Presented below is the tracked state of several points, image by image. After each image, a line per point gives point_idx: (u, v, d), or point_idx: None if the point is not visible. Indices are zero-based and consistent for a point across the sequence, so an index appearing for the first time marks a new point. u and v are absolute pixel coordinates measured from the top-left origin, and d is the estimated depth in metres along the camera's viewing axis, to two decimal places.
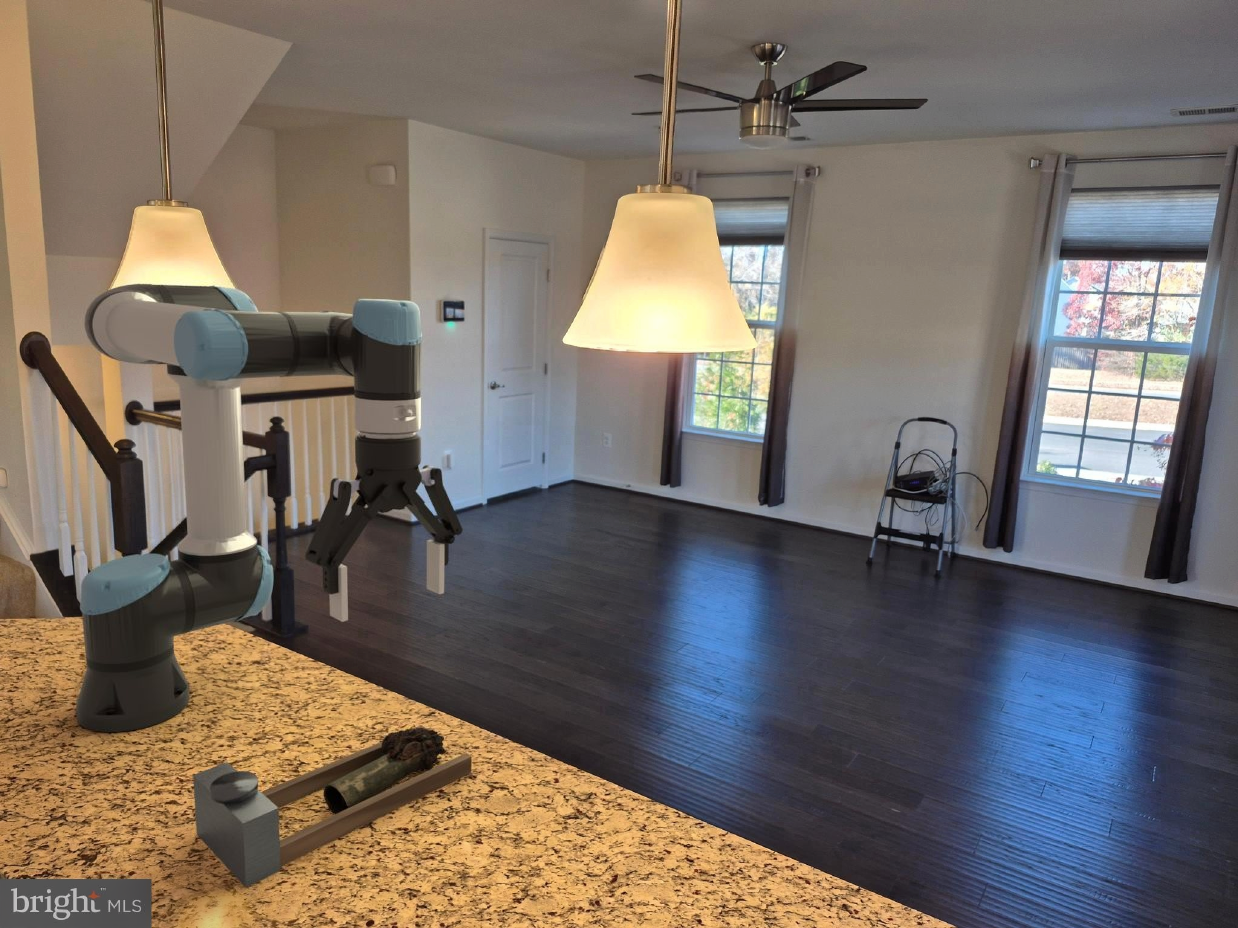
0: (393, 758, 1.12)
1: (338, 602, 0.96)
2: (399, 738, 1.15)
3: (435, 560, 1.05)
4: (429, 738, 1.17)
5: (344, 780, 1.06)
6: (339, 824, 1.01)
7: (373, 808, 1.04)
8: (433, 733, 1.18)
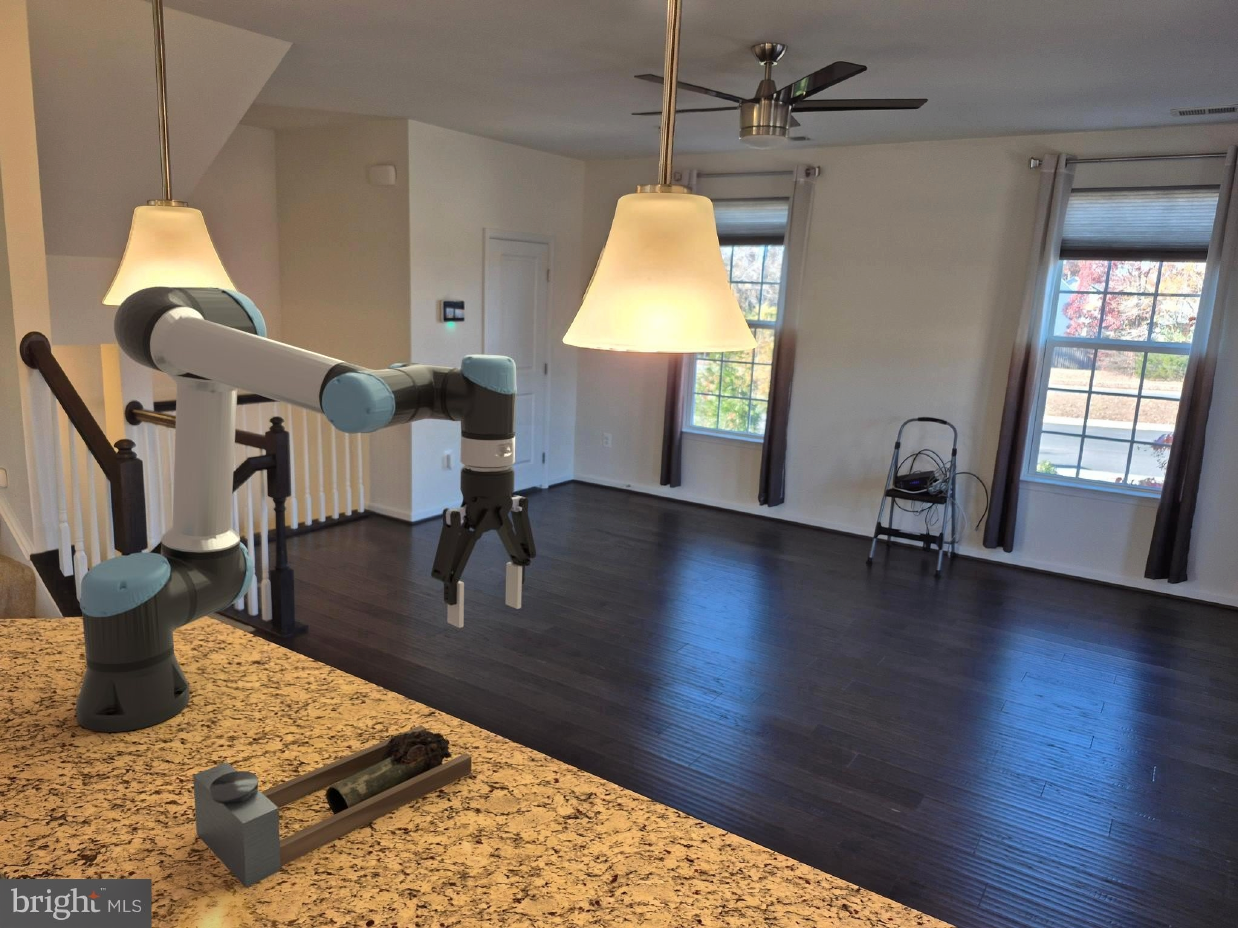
0: (397, 761, 1.12)
1: (456, 612, 1.16)
2: (403, 741, 1.14)
3: (514, 580, 1.24)
4: (434, 741, 1.16)
5: (346, 782, 1.06)
6: (339, 824, 1.01)
7: (373, 808, 1.04)
8: (439, 736, 1.18)
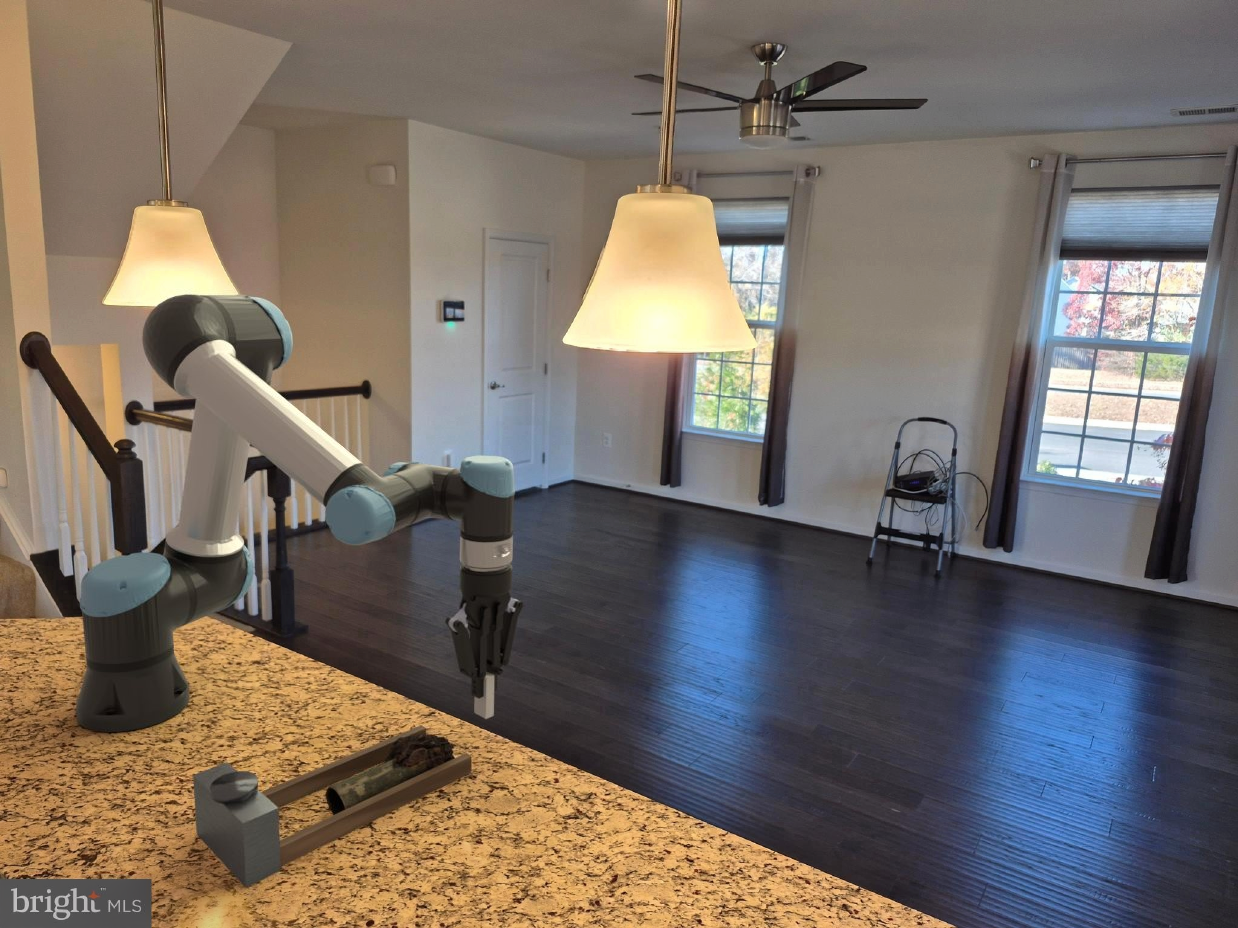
0: (399, 764, 1.11)
1: (483, 703, 1.23)
2: (407, 744, 1.13)
3: None
4: (438, 745, 1.15)
5: (345, 783, 1.05)
6: (339, 824, 1.01)
7: (373, 808, 1.04)
8: (443, 740, 1.17)
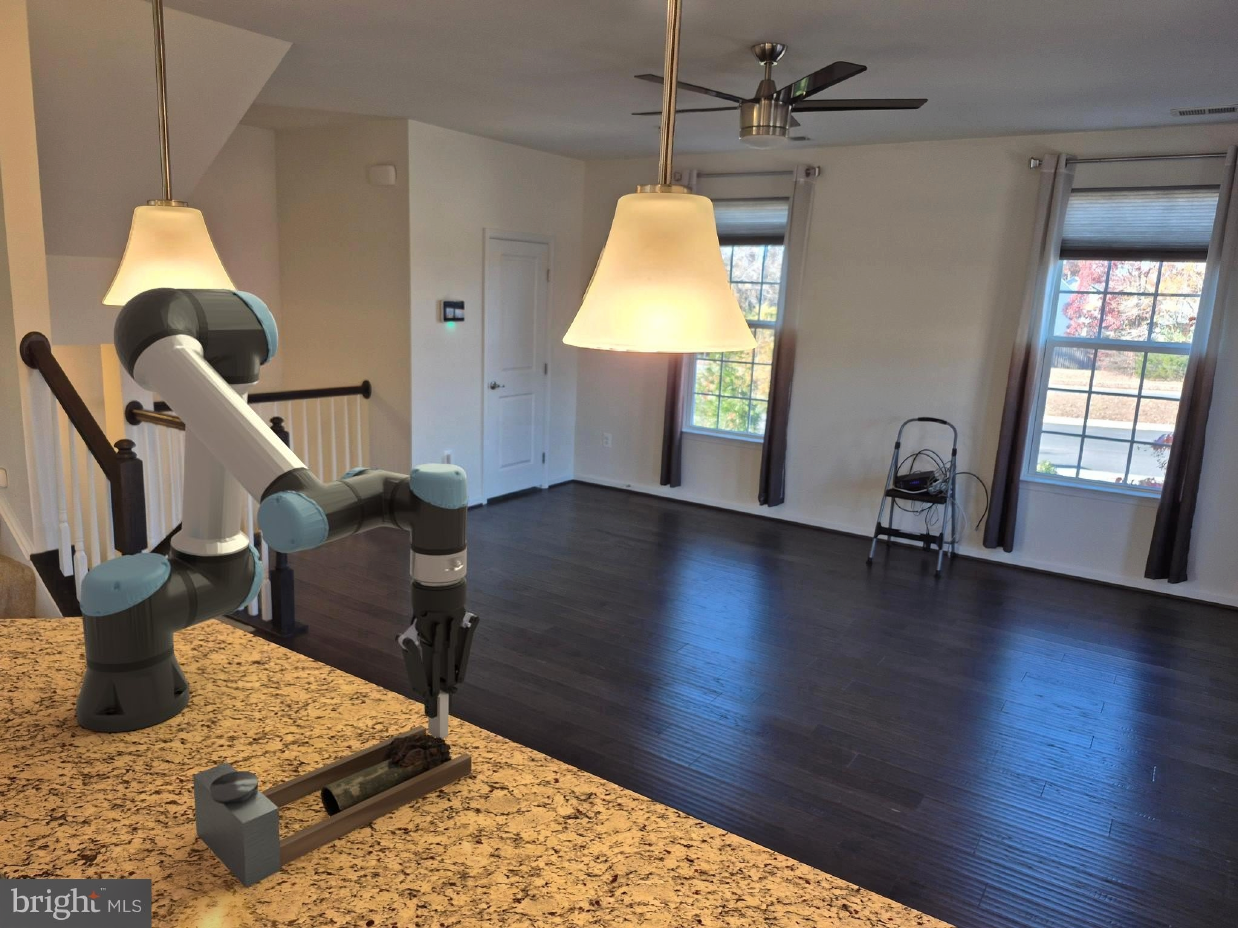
0: (395, 764, 1.11)
1: (436, 723, 1.17)
2: (403, 744, 1.13)
3: None
4: (435, 746, 1.15)
5: (340, 783, 1.05)
6: (339, 824, 1.01)
7: (373, 808, 1.04)
8: (440, 741, 1.16)
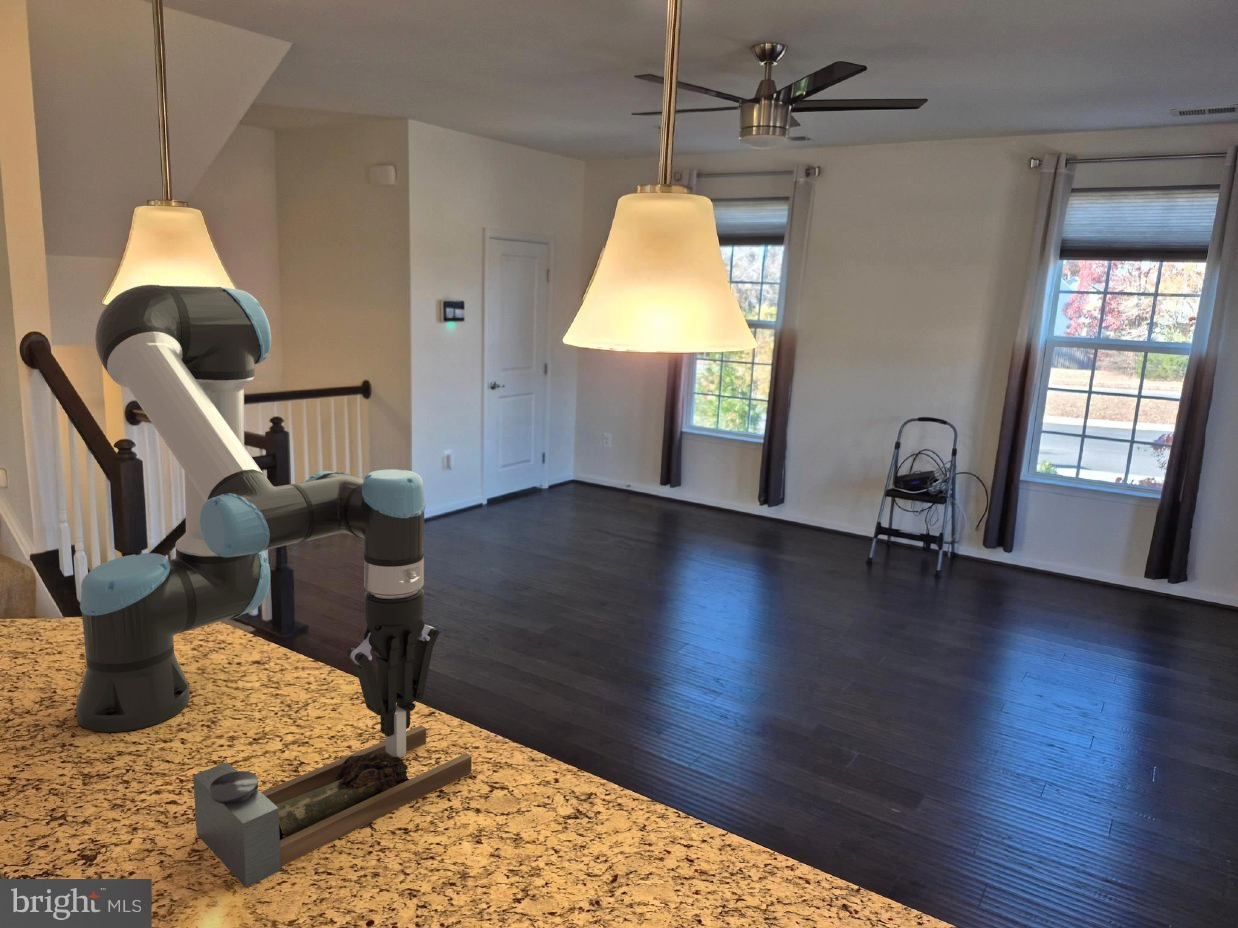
0: (346, 784, 1.06)
1: (393, 742, 1.12)
2: (357, 763, 1.08)
3: None
4: (391, 766, 1.09)
5: (285, 805, 1.00)
6: (339, 824, 1.01)
7: (373, 808, 1.04)
8: (397, 760, 1.11)
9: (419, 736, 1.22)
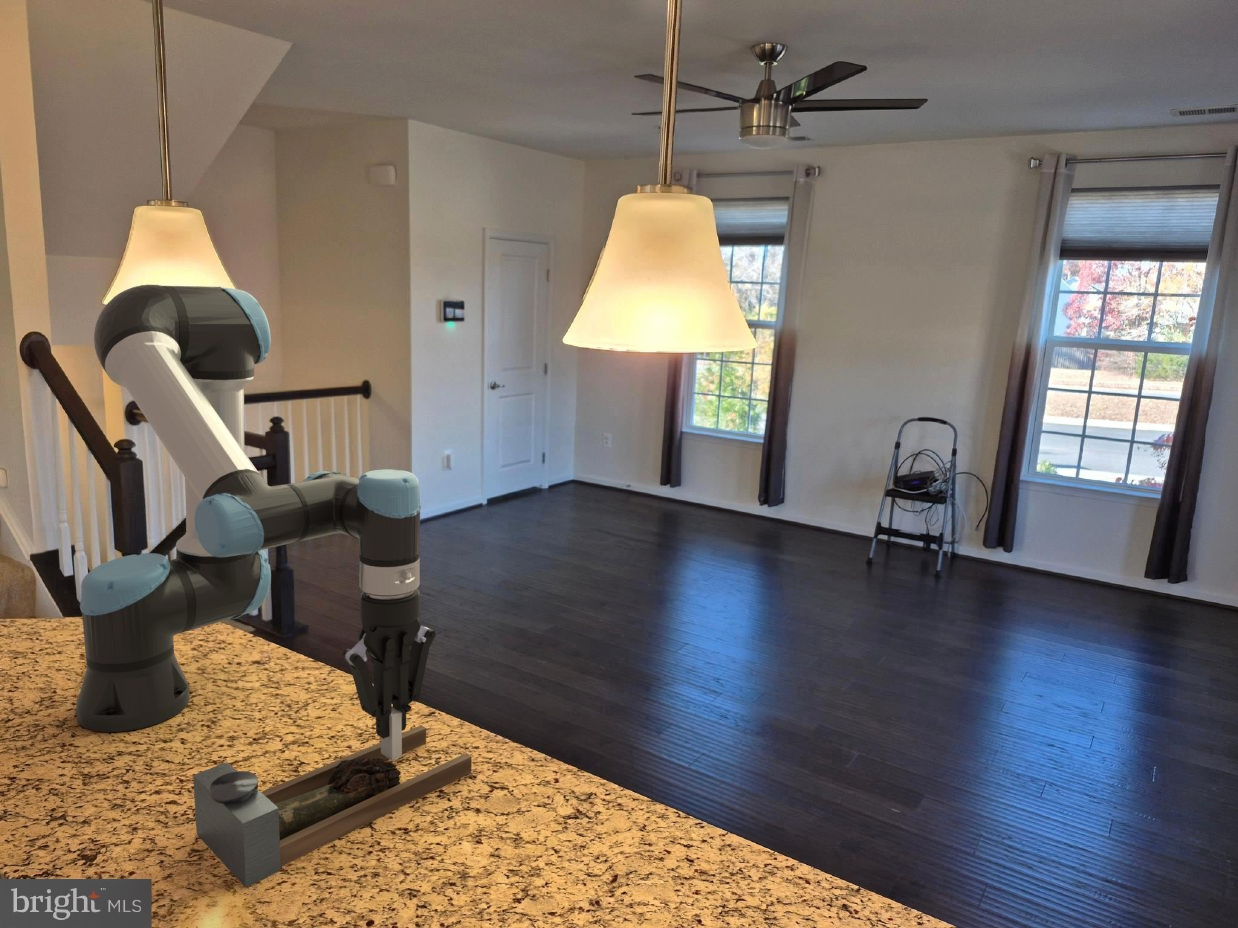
0: (337, 789, 1.05)
1: (389, 744, 1.11)
2: (349, 768, 1.07)
3: None
4: (383, 771, 1.09)
5: None
6: (339, 824, 1.01)
7: (373, 808, 1.04)
8: (390, 766, 1.10)
9: (419, 736, 1.22)
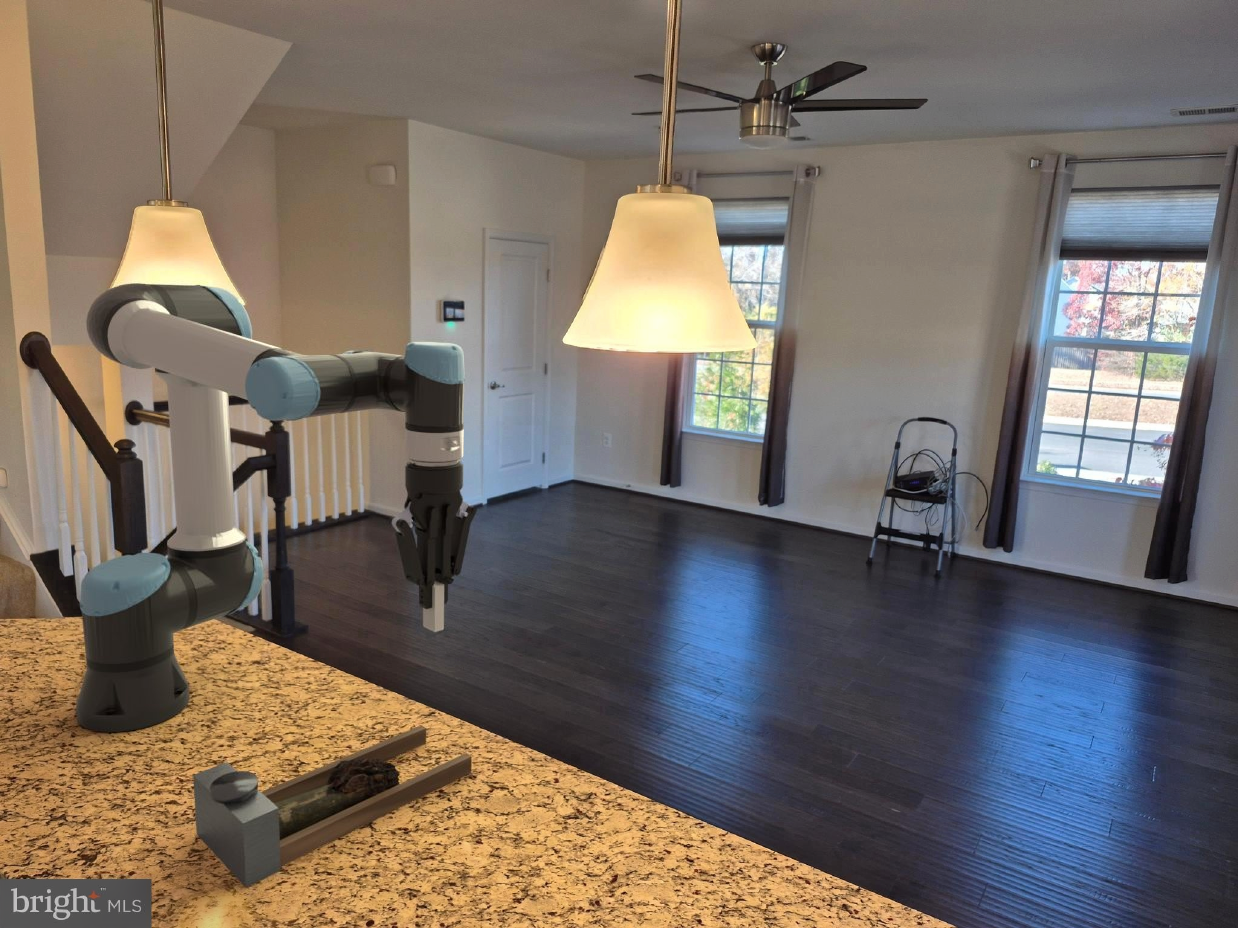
0: (336, 789, 1.05)
1: (431, 615, 1.13)
2: (348, 768, 1.07)
3: None
4: (382, 772, 1.08)
5: None
6: (339, 824, 1.01)
7: (373, 808, 1.04)
8: (390, 766, 1.10)
9: (419, 736, 1.22)
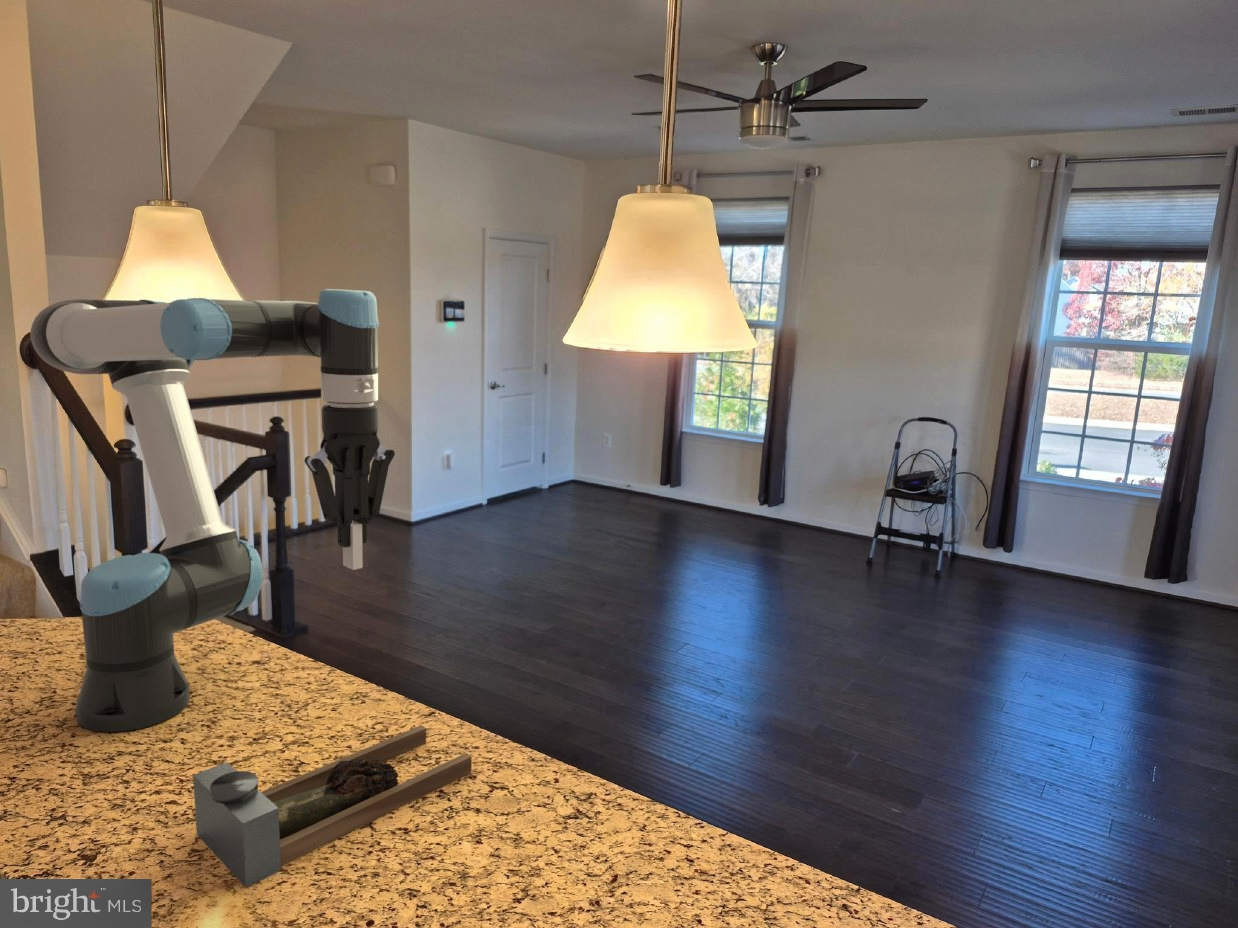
0: (334, 789, 1.05)
1: (350, 554, 1.18)
2: (346, 769, 1.07)
3: None
4: (381, 773, 1.08)
5: None
6: (339, 824, 1.01)
7: (373, 808, 1.04)
8: (389, 767, 1.09)
9: (419, 736, 1.22)
